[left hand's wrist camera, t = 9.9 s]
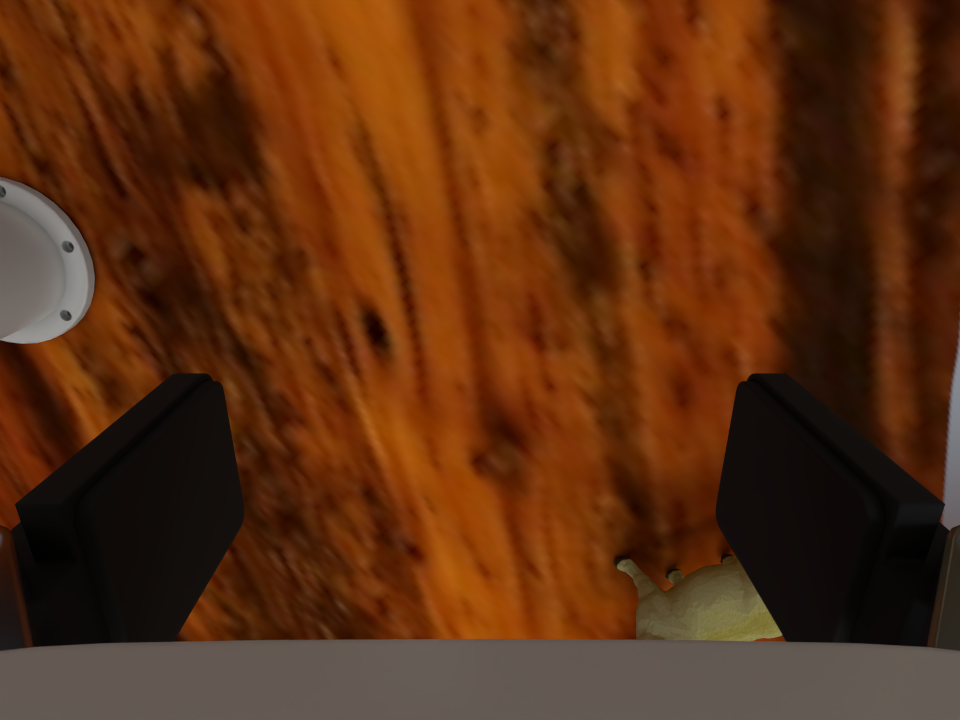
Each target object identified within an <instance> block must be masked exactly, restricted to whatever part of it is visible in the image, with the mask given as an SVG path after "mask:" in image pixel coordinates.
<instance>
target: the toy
mask: <svg viewBox="0 0 960 720" xmlns="http://www.w3.org/2000/svg"><path fill="white" fill-rule="evenodd" d="M721 563H722V564H720V565H711V566H705V567H702V568H700V569H698V570H696V571H695V572H693V573H690V574H689V575H687V576H686V577H684V576H683V574H682V571H681V569H670V570H669V571H668V572H667V573H666V576H665V577H666V578H667V579H669V580H670V581H671V582H672V583H673V585H674V586H673V587H672V588H671V589H669V590H668V591H663V590H662V589H661V588H660V587H659V586H657V584H656V583H655V582H653V581H652V580H650V578H649V577H648V576H647V575H645V574H644V573H643V572H642V571H641V570H640V569H639V568H638V567H637V566H636V564H635V563H634V562H633V561H632V560H631V559H629V558H626V557H621V558H618V559H616V560H615V562H614V565H615V566H616V567H617V568H618V569H619V570H620V571H624V572H626V573H628V574H629V575H630V576H631V577H632V578H633V580H634V583H635V585H636V586H637V588H638V597H639V602H638V605H637V610H636V622H637V625H636V634H637V640H712V641H754V640H756V639H759V638H774V637H779V636H781V635H782V633H781V631H780V630H779V628H778V626H777V625H776V623H775V621H774V620H773V618H772V616H771V614H770V613H769V611H768V609H767V608H766V606H765V604H764V603H763V601H762V599H761V597H760V596H759V594H758V592H757V591H756V589H755V587H754V586H753V584H752V582H751V580H750V579H749V577H748V575H747V574H746V572H745V570H744V569H743V567H742V565H741V563H740V562H739V560H738V558H737V557H735V556H734V555H730V554H725V555H722V557H721Z"/></svg>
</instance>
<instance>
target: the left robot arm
mask: <svg viewBox="0 0 960 720" xmlns="http://www.w3.org/2000/svg"><path fill="white" fill-rule="evenodd" d="M94 284H95V275H94V268H93V262H92V259H91V256H90V253H89V250H88V247H87V245H86V243H85V241H84V239H83V237H82V236H81V234H80V232H79V230H78V229H77V228H76V226H75V225H74V224H73V222H72V221H71V220H70V218H69V217H68V216H67V215H66V214H65V213H64V212H63V211H62V210H61V209H60V208H59V207H58V206H57V205H56V204H55V203H54V202H52V201H51V200H49V199H48V198H47V197H45V196H44V195H42V194H41V193H40V192H38V191H36V190H34V189H32V188H30V187H28V186H26V185H24V184H22V183H20V182H17V181H13V180H10V179H7V178H4V177H0V340H3V341H6V342H13V343H22V344H24V343H38V342H42V341H46V340H50V339H53V338H55V337H57V336H59V335H61V334H63V333H65V332H67V331H68V330H70V329H71V328H73V327H74V326H76V325H77V323H78V322H79V321H80V320H81V319H82V318H83V317H84V316H85V314H86V312H87V310H88V308H89V307H90V305H91V301H92V298H93V294H94ZM15 506H16V509H17V512H18V514H19V517H20V520H21V522H20V523H19V524H18V525H17V526H15V527H14V528H13V529H12V530H11V531H10V530H9V529H8V528H7V527H4V526H1V525H0V720H960V525H959V526H956V527H953V528H952V529H951V530H950V531H949V530H948V529H947V528H946V527H945V526H943V525H942V524H941V523H940V522H939V520H940V517H941V514H942V512H943V509H944V506H945V504H944V503H943V502H942V501H940V500H939V499H938V498H937V497H936V496H934V495H933V494H932V493H931V492H930V491H928V490H927V489H926V488H925V487H924V486H922V485H921V484H920V483H919V482H917V481H916V480H915V479H914V478H913V477H911V476H910V475H909V474H908V473H907V472H905V471H904V470H903V469H902V468H900V467H899V466H898V465H897V464H896V463H894V462H893V461H892V460H891V459H890V458H888V457H887V456H886V455H885V454H884V453H882V452H881V451H880V450H879V449H877V448H876V447H875V446H874V445H873V444H871V443H870V442H869V441H868V440H867V439H865V438H864V437H863V436H862V435H860V434H859V433H858V432H857V431H856V430H854V429H853V428H852V427H851V426H850V425H848V424H847V423H846V422H845V421H844V420H842V419H841V418H840V417H839V416H837V415H836V414H835V413H834V412H833V411H831V410H830V409H829V408H828V407H827V406H825V405H824V404H823V403H822V402H820V401H819V400H818V399H817V398H816V397H814V396H813V395H812V394H811V393H810V392H808V391H807V390H806V389H805V388H803V387H802V386H801V385H800V384H799V383H797V382H796V381H795V380H794V379H793V378H791V377H790V376H789V375H787V374H751V375H750V376H749V378H748V380H747V381H743V382H740V383H739V385H738V387H737V390H736V395H735V401H734V407H733V412H732V418H731V424H730V429H729V435H728V441H727V446H726V452H725V458H724V463H723V469H722V475H721V480H720V486H719V492H718V497H717V503H716V518H717V523H718V525H719V528H720V529H721V531H722V533H723V535H724V536H725V538H726V540H727V541H728V543H729V545H730V546H731V548H732V550H733V552H734V553H735V555H736V557H737V558H738V560H739V562H740V563H741V565H742V567H743V569H744V570H745V572H746V574H747V575H748V577H749V579H750V580H751V582H752V584H753V586H754V587H755V589H756V591H757V592H758V594H759V596H760V597H761V599H762V601H763V603H764V604H765V606H766V608H767V609H768V611H769V613H770V614H771V616H772V618H773V620H774V621H775V623H776V625H777V626H778V628H779V630H780V631H781V633H782V635H783V637H784V638H785V640H786V642H765V641H712V640H551V639H410V640H248V641H195V642H174V640H175V638H176V637H177V635H178V633H179V631H180V630H181V628H182V626H183V625H184V623H185V621H186V620H187V618H188V616H189V614H190V613H191V611H192V609H193V608H194V606H195V604H196V603H197V601H198V599H199V597H200V596H201V594H202V592H203V591H204V589H205V587H206V586H207V584H208V582H209V580H210V579H211V577H212V575H213V574H214V572H215V570H216V569H217V567H218V565H219V563H220V562H221V560H222V558H223V557H224V555H225V553H226V552H227V550H228V548H229V546H230V545H231V543H232V541H233V540H234V538H235V536H236V535H237V533H238V531H239V529H240V528H241V525H242V523H243V518H244V503H243V497H242V492H241V486H240V480H239V475H238V469H237V463H236V458H235V452H234V446H233V441H232V435H231V429H230V424H229V418H228V412H227V407H226V401H225V395H224V390H223V387H222V385H221V383H220V382H217V381H213V380H212V378H211V376H210V375H209V374H173V375H171V376H170V377H169V378H167V379H166V380H165V381H164V382H163V383H161V384H160V385H159V386H158V387H157V388H155V389H154V390H153V391H152V392H150V393H149V394H148V395H147V396H146V397H144V398H143V399H142V400H141V401H140V402H138V403H137V404H136V405H135V406H133V407H132V408H131V409H130V410H129V411H127V412H126V413H125V414H124V415H123V416H121V417H120V418H119V419H118V420H116V421H115V422H114V423H113V424H112V425H110V426H109V427H108V428H107V429H106V430H104V431H103V432H102V433H101V434H100V435H98V436H97V437H96V438H95V439H93V440H92V441H91V442H90V443H89V444H87V445H86V446H85V447H84V448H83V449H81V450H80V451H79V452H78V453H76V454H75V455H74V456H73V457H72V458H70V459H69V460H68V461H67V462H66V463H64V464H63V465H62V466H61V467H60V468H58V469H57V470H56V471H55V472H53V473H52V474H51V475H50V476H49V477H47V478H46V479H45V480H44V481H43V482H41V483H40V484H39V485H38V486H36V487H35V488H34V489H33V490H32V491H30V492H29V493H28V494H27V495H26V496H24V497H23V498H22V499H21V500H20V501H18V502H17V503H16V504H15Z"/></svg>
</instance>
